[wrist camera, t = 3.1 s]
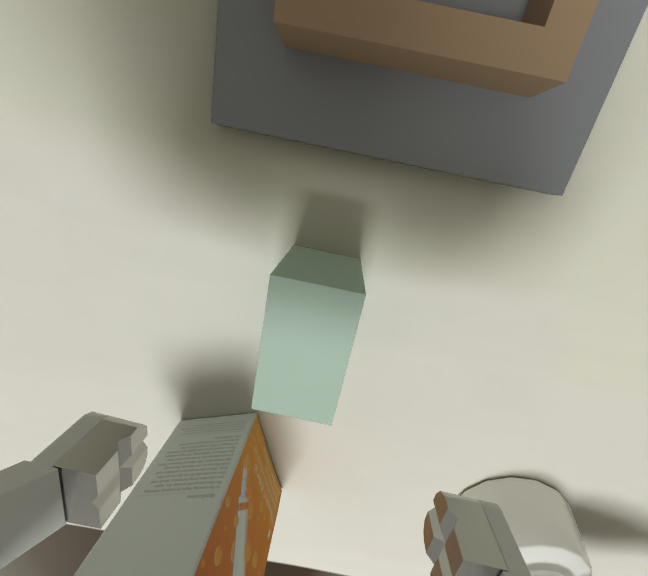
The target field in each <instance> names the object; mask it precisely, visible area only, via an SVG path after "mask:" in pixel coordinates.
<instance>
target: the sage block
mask: <svg viewBox="0 0 648 576" xmlns="http://www.w3.org/2000/svg"><path fill="white" fill-rule="evenodd" d="M365 296H366V292H365V286H364V279H363V273H362V266H361V260H360V259H358V258H354V257H349V256H344V255H339V254H335V253H330V252H325V251H320V250H316V249H311V248H306V247H301V246H297V245H294V246H293V247H292V248H291V249H290V251H289V252H288V253H287V254H286V256H285V257H284V258H283V259H282V261H281V262H280V263H279V264H278V266H277V267H276V268H275V269H274V271H273V272H272V273H271V274H270V280H269V287H268V294H267V301H266V308H265V315H264V322H263V329H262V336H261V343H260V350H259V357H258V364H257V371H256V378H255V385H254V392H253V399H252V407H251V409H255V410H260V411H264V412H269V413H274V414H279V415H283V416H288V417H293V418H298V419H302V420H307V421H312V422H317V423H321V424H326V425H331V426H332V422H333V418H334V414H335V410H336V407H337V403H338V399H339V395H340V391H341V387H342V384H343V380H344V376H345V372H346V368H347V365H348V361H349V357H350V353H351V349H352V346H353V342H354V338H355V334H356V330H357V326H358V323H359V319H360V315H361V311H362V307H363V304H364V300H365Z"/></svg>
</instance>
